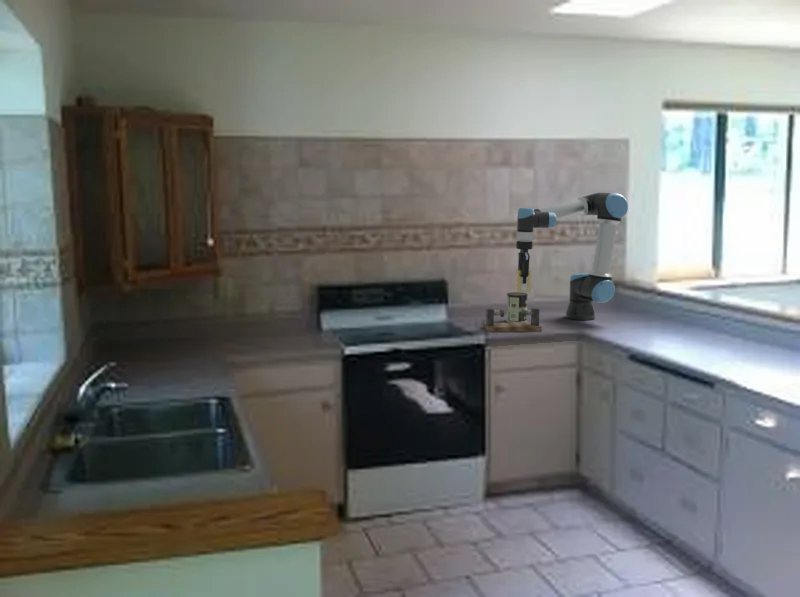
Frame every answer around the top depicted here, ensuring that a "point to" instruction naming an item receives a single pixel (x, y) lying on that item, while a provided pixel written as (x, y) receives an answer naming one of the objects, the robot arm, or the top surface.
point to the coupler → (518, 281)
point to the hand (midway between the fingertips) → (522, 289)
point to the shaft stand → (501, 327)
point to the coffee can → (516, 307)
